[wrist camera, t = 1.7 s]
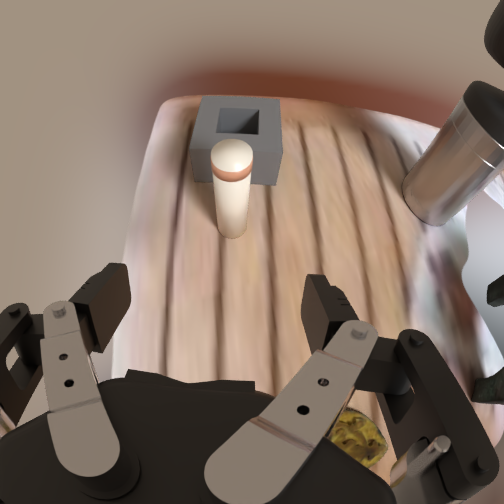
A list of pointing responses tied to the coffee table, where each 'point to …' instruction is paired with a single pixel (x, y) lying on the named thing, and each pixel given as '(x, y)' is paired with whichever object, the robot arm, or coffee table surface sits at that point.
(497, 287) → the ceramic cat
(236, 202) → the dowel
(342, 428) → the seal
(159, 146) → the coffee table surface
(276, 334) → the coffee table surface
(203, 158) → the hole block
